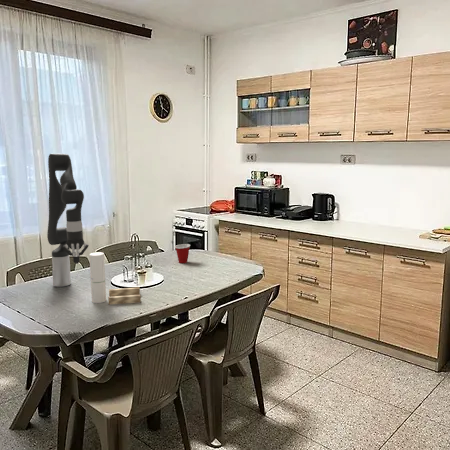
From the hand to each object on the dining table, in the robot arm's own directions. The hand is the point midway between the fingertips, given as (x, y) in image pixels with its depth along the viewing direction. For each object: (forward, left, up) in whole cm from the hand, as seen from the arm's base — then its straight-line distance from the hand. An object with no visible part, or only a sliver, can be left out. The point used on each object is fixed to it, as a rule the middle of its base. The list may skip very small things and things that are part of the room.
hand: (76, 263), depth 223 cm
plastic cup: (+62, +66, -21) cm, 93 cm away
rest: (+23, 0, -21) cm, 31 cm away
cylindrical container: (+10, 0, -21) cm, 23 cm away
